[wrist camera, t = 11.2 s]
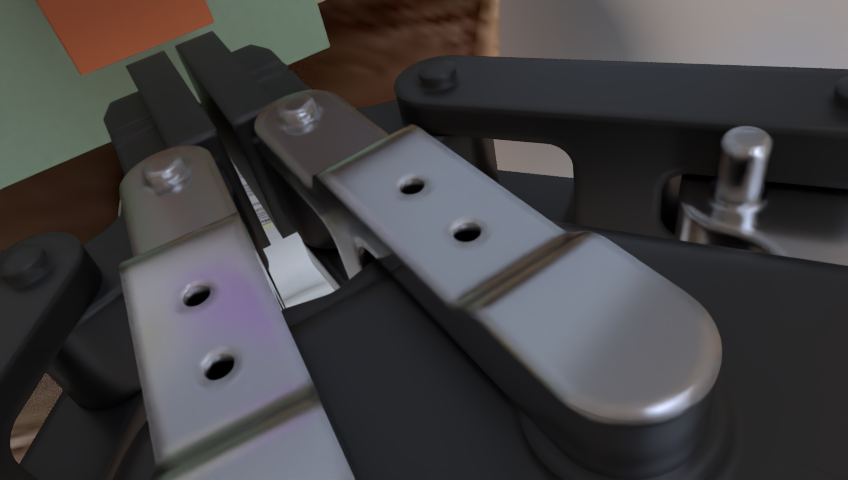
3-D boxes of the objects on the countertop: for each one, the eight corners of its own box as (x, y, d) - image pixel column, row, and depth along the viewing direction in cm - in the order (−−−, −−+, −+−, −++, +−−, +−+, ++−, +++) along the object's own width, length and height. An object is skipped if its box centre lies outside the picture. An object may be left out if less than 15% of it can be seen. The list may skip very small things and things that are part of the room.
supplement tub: (361, 200, 43) (514, 378, 31) (208, 319, 42) (307, 548, 30) (254, 52, 34) (410, 220, 22) (57, 198, 33) (113, 453, 21)
